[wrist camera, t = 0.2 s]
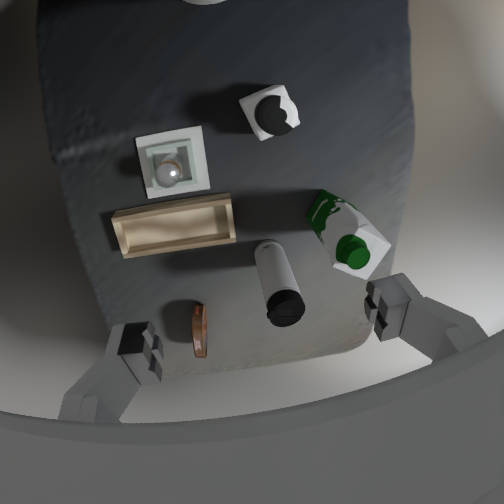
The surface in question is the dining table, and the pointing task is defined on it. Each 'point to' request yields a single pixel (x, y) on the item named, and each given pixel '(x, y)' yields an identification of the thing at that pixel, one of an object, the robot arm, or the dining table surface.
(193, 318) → the tin
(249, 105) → the medicine bottle
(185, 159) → the checker cradle
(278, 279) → the travel mug
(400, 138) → the dining table surface
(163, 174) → the cell
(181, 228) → the trough
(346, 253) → the milk carton
